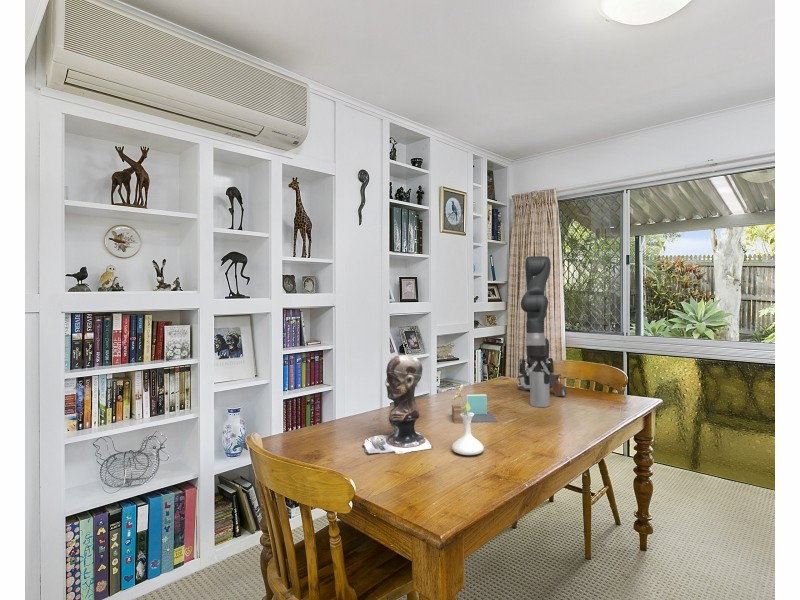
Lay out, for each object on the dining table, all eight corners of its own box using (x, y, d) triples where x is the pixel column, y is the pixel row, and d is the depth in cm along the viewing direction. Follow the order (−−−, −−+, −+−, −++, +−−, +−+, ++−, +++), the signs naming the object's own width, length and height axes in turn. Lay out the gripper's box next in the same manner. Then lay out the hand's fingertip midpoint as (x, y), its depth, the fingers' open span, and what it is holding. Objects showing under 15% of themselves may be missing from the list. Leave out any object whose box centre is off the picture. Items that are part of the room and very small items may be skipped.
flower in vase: (462, 444, 169) (461, 378, 168) (489, 450, 161) (488, 381, 161) (443, 454, 158) (441, 384, 158) (471, 462, 151) (469, 388, 151)
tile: (466, 413, 208) (466, 394, 207) (486, 413, 208) (485, 394, 207) (467, 415, 206) (467, 395, 206) (487, 414, 206) (486, 395, 206)
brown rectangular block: (452, 417, 205) (451, 404, 205) (459, 417, 205) (459, 404, 205) (454, 424, 195) (454, 410, 195) (462, 423, 195) (462, 410, 195)
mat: (460, 413, 210) (460, 412, 210) (490, 413, 210) (490, 412, 210) (465, 422, 196) (465, 421, 196) (497, 421, 196) (497, 420, 196)
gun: (526, 400, 257) (519, 374, 260) (568, 394, 237) (561, 366, 240) (521, 401, 254) (514, 375, 257) (563, 395, 234) (556, 367, 237)
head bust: (354, 438, 176) (361, 350, 176) (413, 436, 185) (420, 351, 185) (370, 458, 156) (378, 358, 156) (435, 455, 165) (443, 360, 165)
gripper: (545, 343, 187) (547, 382, 186) (515, 344, 183) (516, 384, 182) (556, 344, 179) (558, 384, 179) (525, 344, 176) (526, 386, 175)
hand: (536, 384), depth 180 cm, fingers open, 8 cm apart
